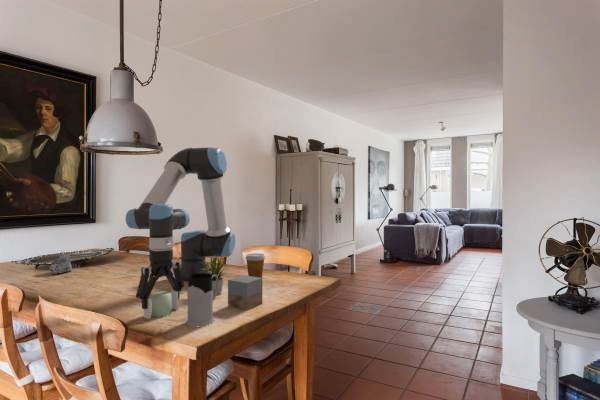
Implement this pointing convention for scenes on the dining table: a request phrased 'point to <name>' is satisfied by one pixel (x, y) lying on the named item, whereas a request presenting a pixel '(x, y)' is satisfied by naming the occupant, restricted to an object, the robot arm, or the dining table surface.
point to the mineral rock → (61, 264)
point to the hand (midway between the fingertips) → (161, 313)
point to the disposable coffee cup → (255, 264)
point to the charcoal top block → (245, 286)
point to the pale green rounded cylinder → (161, 303)
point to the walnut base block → (244, 301)
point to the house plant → (215, 272)
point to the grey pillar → (200, 299)
